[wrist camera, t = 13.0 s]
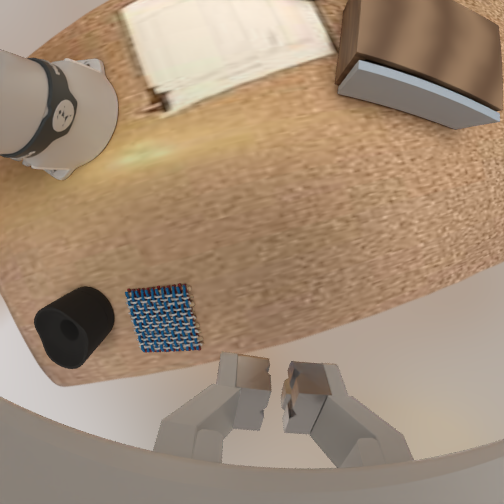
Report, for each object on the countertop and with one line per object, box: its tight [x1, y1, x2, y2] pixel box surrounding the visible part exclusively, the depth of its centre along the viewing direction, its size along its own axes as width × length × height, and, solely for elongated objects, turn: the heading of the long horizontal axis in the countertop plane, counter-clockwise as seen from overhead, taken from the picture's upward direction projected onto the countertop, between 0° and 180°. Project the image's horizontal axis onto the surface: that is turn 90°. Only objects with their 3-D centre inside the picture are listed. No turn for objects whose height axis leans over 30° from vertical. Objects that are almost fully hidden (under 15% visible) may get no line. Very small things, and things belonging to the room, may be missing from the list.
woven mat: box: [125, 284, 204, 352], centre depth 45 cm, size 10×11×2 cm
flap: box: [338, 60, 500, 130], centre depth 30 cm, size 18×1×10 cm, turn 81°
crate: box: [335, 0, 503, 111], centre depth 29 cm, size 18×12×12 cm, turn 81°
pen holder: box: [34, 287, 114, 369], centre depth 41 cm, size 9×9×10 cm
